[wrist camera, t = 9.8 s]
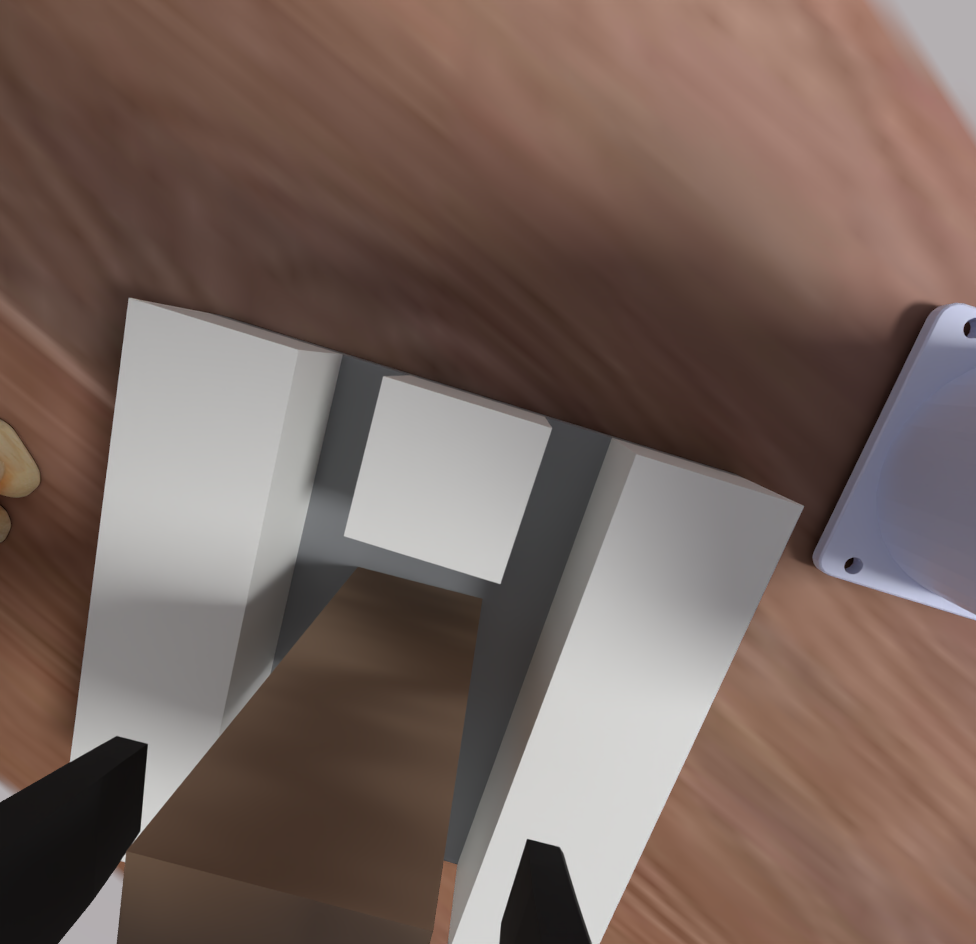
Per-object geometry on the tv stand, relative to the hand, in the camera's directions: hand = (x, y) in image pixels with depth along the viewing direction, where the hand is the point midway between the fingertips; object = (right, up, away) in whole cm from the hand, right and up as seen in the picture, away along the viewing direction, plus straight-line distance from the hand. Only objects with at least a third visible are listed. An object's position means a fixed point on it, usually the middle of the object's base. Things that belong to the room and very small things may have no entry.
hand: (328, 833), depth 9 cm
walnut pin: (0, +1, +6) cm, 7 cm away
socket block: (0, +1, +7) cm, 7 cm away
